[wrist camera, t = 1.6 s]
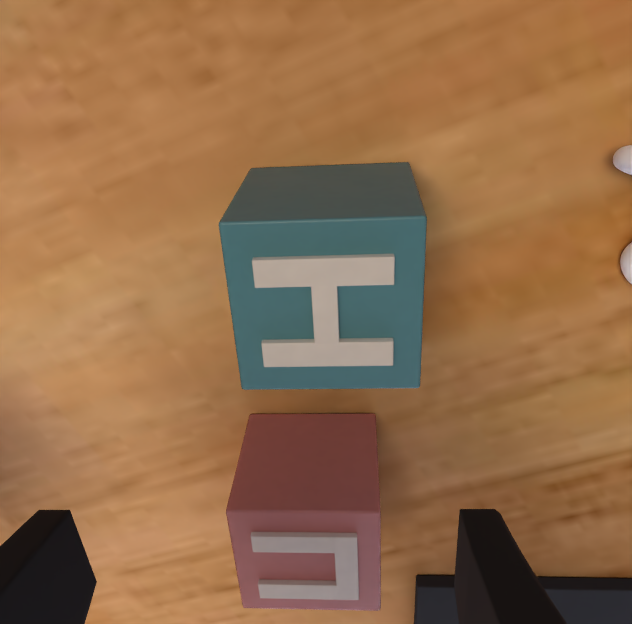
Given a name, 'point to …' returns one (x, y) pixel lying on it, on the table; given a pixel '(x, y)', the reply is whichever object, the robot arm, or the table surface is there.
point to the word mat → (566, 593)
